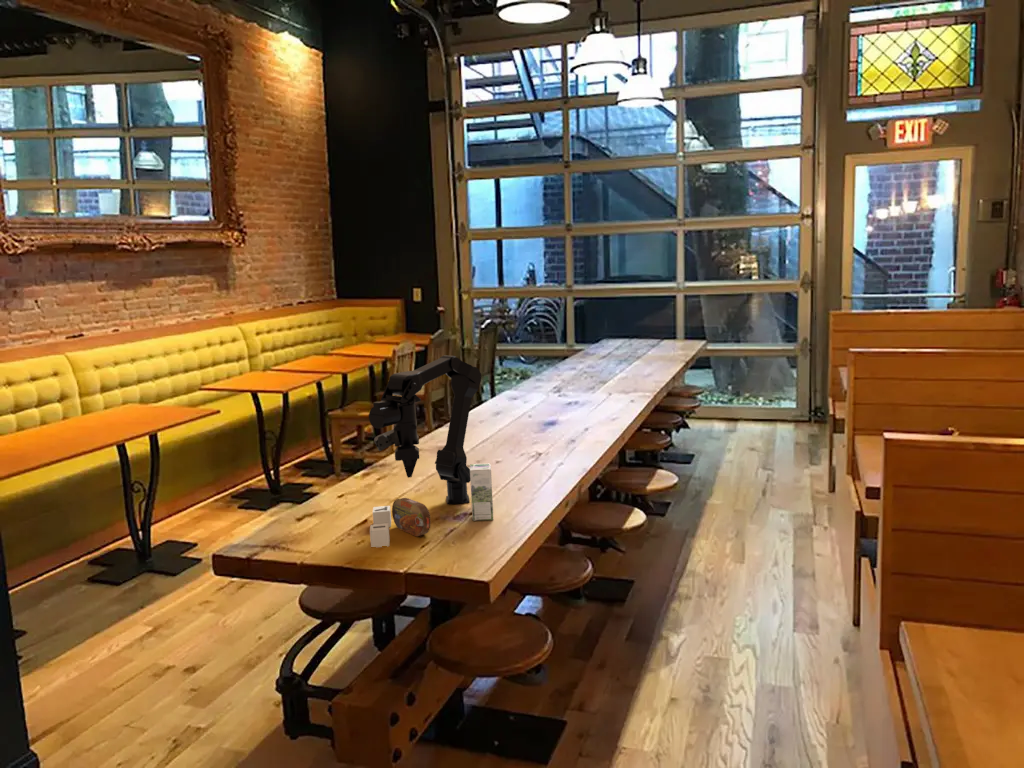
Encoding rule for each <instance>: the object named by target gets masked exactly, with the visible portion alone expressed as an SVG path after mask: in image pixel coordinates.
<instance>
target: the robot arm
mask: <svg viewBox="0 0 1024 768" xmlns="http://www.w3.org/2000/svg"><path fill="white" fill-rule="evenodd" d="M444 375H445V376H447V377H448V378H450V386H451V390H452V393H453V401H452V407H451V412H450V419H449V424H448V425H449V426H448V431H447V437H446V442H445V445H444V447H442V449H438V450H437V452H436V459H435V462H434V464H435V470H436V472H437V474H438V477H439V479H440V480H441V481H446V488H447V489H446V491H447V495H446V497H445V499H446V500H445V501H446V505H455V504H457V505H459V504H466V503H467V504H468V503H470V496H469V494H468V486H467V484H469V483H471V482H470V467H468V466H467V462H468V461H467V459H468V458H467V455H466V451H465V448H464V444H465V437H466V433H467V432H466V431H467V426H468V421H469V416H470V409H471V403H472V402H471V401H472V398H473V397H474V396H475V395H476V393H477V392H478V391H479V388H480V384H481V382H482V381H481V380H482V372H481V371H480V369H479V368H478V367H476V366H473V365H471V364H469V363H467V362H465V361H463V360H461V359H460V358H458V357H457V356H455V355H446V354H445V355H442V356H440V357H439V358H437V359H435V360H433V361H431V362H429V363H427V364H425V365H423V366H420V367H419V368H416V369H414V370H409V371H408V370H407V371H400V372H396V373H393V374H391V375H390V376H389V379H388V382H387V384H386V386H385V389H384V391H383V393H382V395H381V398H380V401H374V402H373V403H372V404H373V406H372V408H371V409H370V410H369V414H368V420H369V423H370V425H371V426H372V428H374V429H377V430H378V429H379V430H380V429H382V428H387V427H389V426H393V429H391V430H388V431H386V432H383V433H381V434H379V435H377V436H375V437H374V439H373V441H374V444H375V447H376V448H377V450H378V451H379V452H381V451H384V450H385V449H387V448H389V447H391V446H394V447H396V449H395V450H394V460H395V461H397V462H398V461H399V462H400V461H402V464H403V467H404V470H405V473H406V474H405V475H406V477H407V478H408V479H409V478H412V477H413V474H414V471H415V467H416V465H417V462H418V460H419V459H420V448H419V447H418V446H416V445H420V439H419V438H420V437H419V434H418V427H417V425H418V424H417V414H416V413H417V410H416V403H418V402H421V400H422V399H421V398H420V397H419V396H418V395H416V394H418V393H419V392H420V391H421V390H422V388H423V387H424V386H425V384H428V383H429V382H432V381H434V380H435V379H437V378H440V377H441V376H444Z"/></svg>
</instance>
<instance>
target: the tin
mask: <svg viewBox="0 0 1024 768" xmlns="http://www.w3.org/2000/svg"><path fill="white" fill-rule="evenodd" d="M391 517H392V519H393V522H394V524H395V526H396V527H397V529H399V530H400V529H401V530H400V531H402V530H403V532H405V533H408V534H409V533H410V534H409V535H412V536H414V537H420V536H423V535H426V534H428V533H429V531H430V530H431V523H432V522H431V514H430V511H429V508H428V507H427V506H426V505H425V504H424V503H422V502H419V501H416V500H413V499H411V498H408V497H403V498H397V499H395V500H394V501H393V503H392V507H391Z"/></svg>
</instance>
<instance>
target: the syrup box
mask: <svg viewBox="0 0 1024 768" xmlns="http://www.w3.org/2000/svg"><path fill="white" fill-rule="evenodd" d="M469 469H470V482H469V483H470V496H471V497H470V499H471V515H472V521H473V522H475V521H476V522H478V521H492V520H493V521H494V503H493V502H494V501H493V489H492V488H493V486H492V485H493V484H492V465H491V463H489V462H488V463H474V464H470V465H469Z"/></svg>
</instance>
